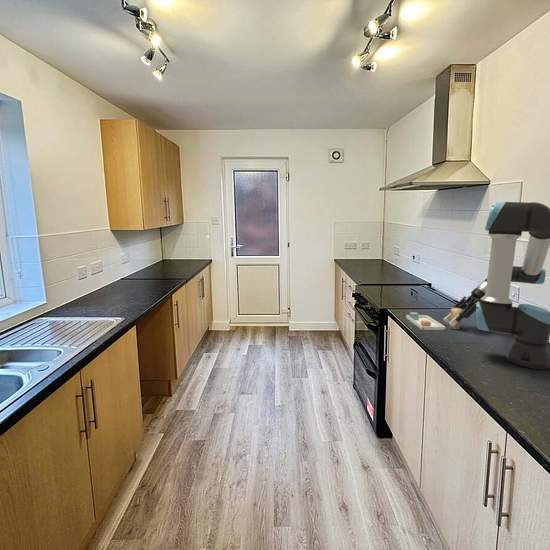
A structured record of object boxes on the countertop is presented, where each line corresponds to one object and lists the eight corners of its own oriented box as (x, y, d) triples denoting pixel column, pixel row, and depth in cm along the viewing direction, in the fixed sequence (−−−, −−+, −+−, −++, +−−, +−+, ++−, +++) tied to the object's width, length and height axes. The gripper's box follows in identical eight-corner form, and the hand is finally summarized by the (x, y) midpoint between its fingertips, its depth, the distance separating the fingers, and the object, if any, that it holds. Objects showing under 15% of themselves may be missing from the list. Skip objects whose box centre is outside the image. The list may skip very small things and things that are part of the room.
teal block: (418, 320, 203) (418, 314, 202) (412, 320, 202) (412, 314, 202) (415, 318, 206) (416, 312, 205) (409, 318, 206) (410, 312, 205)
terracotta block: (430, 328, 188) (430, 322, 187) (423, 328, 188) (424, 322, 187) (427, 326, 191) (427, 320, 191) (420, 326, 191) (421, 320, 191)
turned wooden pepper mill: (461, 330, 189) (463, 310, 187) (452, 330, 189) (454, 310, 187) (456, 327, 194) (458, 307, 192) (447, 327, 194) (449, 307, 192)
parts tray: (445, 331, 187) (445, 326, 187) (421, 331, 187) (422, 326, 186) (426, 319, 208) (426, 315, 207) (405, 319, 207) (405, 315, 207)
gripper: (498, 301, 180) (461, 333, 182) (476, 293, 198) (443, 322, 200) (488, 291, 179) (452, 323, 181) (468, 283, 197) (435, 313, 199)
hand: (448, 323), depth 191 cm, fingers closed on turned wooden pepper mill, 5 cm apart
